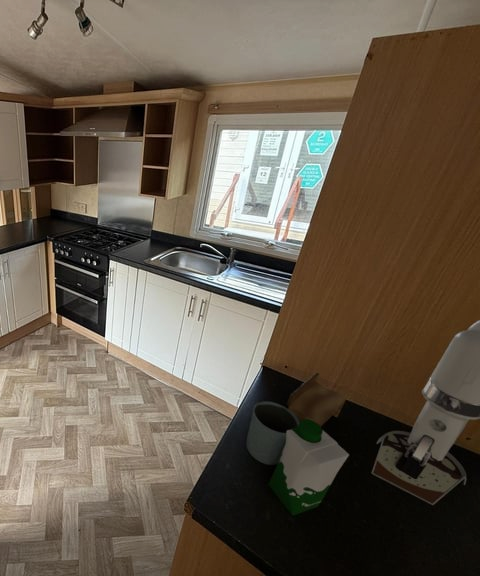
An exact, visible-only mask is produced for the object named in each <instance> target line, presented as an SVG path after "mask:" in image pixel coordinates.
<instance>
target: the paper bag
mask: <svg viewBox="0 0 480 576" xmlns="http://www.w3.org/2000/svg"><path fill="white" fill-rule="evenodd" d="M319 376H320V373H318V372H316V373H314V374H313V375H312V376H311V377H310V378H308V379H307V380H306V381H304V383H302V384H301V385H300V386H299V387H298V388H297V389H296V390H294V391H293V392H291V394H290V395H289V397H288V400H287V402H286V406H288V408H287V409H288V410H290V411H291V412H292V413H293V414H294V415H295V416H296V417H297V419H298V421H299V423H300V421H301V420H302V419H309V420H312V421H314V422H316V423H317V424H318V425H319V426H320V427H321V428H322V427H323V425H325V424H326V422H328V420H329V419H330V418H331V417H332V416H333V417H334V418H338V417H339V415H340V413H341V411H342V409H343V407H344V405H345V403H346V400H347V397H345V396H344V395H342V394H340V393H339V392H336V391H334V390H332V389H331V388H329V387H327V386H325V385H323V384H321V383H319V382H317V381H318V380H319Z"/></svg>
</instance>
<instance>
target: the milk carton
mask: <svg viewBox="0 0 480 576" xmlns="http://www.w3.org/2000/svg"><path fill="white" fill-rule="evenodd" d="M349 456H350V454H349V453H348V452H347V451H346V450H345V449H344V448H342V447H341V446H340V445H339V443H338V442H337V441H336V440H335V439H334V438H333V437H331V436H330V435H329V434H328V433H327V432H326V431H324V430H323V428H322V427H320V426H319V425H318V424H317V423H316V422H314V421H312V420H309V419H302V420H301V421H300V423H299V425H298V426H296V427H295V428H293V429H291V430H288V431H287V432H286V444H285V447H284V449H283V452H282V454H281V457H280V459H279V462H278V464H276V467H275V469H274V471H273V472H272V475H271V477H270V479H269V481H268V483H267V484H268V486H269V488H270V489H271V490H272V492H273V493H274V494H275V495H276V496H277V498H278V499H279V500H280V502H281V503H282V504H283V506H284V507H285V508H286V510H287V511H288V512H289V513H290V515H292V516H293V517H294V516H296V515H298V514H302V513H305V512H308V511H310V510H312V509H315V508H318V507H319V506H320V504H321V503H322V501H323V500H324V498H325V496H326V494H327V492H328V490H329V489H330V487H331V485H332V483H333V482H334V480H335V478H336V476H337V474H338V473H339V471H340V469H341V468H342V466H343V465H344V463H346V461H347V459H348V458H349Z"/></svg>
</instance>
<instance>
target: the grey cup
mask: <svg viewBox="0 0 480 576" xmlns="http://www.w3.org/2000/svg"><path fill="white" fill-rule="evenodd" d="M298 425H299V421H298V419H297V417H296V416H295V415H294V414H293V413H292V412H291V411H290V410H288V408H287V407H286V406H283V405H281V404H279V403H277V402H273V401H260V402H257V403H256V404H255V405H254V406H253V407H252V413H251V420H250V423H249V427H248V432H247V435H246V436H247V437H246V441H245V445H246V449H247V451H248V453H249V454H250V455H251V457H253V459H255V460H256V461H258V462H259V463H261V464H264V465H268V466H275V465H276V466H277V464H278V462H279V459H280V457H281V454H282V452H283V449H284V447H285V444H286V432H287V431H288V430H291V429H293V428H295V427H296V426H298Z"/></svg>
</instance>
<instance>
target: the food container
mask: <svg viewBox="0 0 480 576" xmlns="http://www.w3.org/2000/svg"><path fill="white" fill-rule="evenodd" d="M410 434H411V432H408V431H404V430H392V431H388V432H386V433H384V434H383V435H381V437H379V438H378V440H377V441H376V445H378V444H380V446H379V449H378V452H377V455H376V458H375V461H374V464H373V467H372V470H371V474H372V475H373V476H375V477H377V478H379V479H381V480H383V481H385V482H387V483H388V484H390V485H392V486H395V487H396V488H398V489H400V490H402V491H404V492H406V493H408V494H410V495H412V496H414V497H416V498H418V499H420V500H422V501H424V502H426V503H428V504H430V505H432V506H435V504H436V503H438V502H439V501H440V500H441V499H443V498H444V497H445V496H446V495H448V493H449V492H451V491H452V490H453V489H454V488H455V487H456V486H458V484H460V483H463V485H464V486H465V485H466V483H467V480H468V479H467V473H466V471H465V468H464V467H463V466H462V464H461V463H460V462H459V460H457V458H456V457H454V456H453V454H451V453H450V452H449V451H448V452H447V454H446V455H445V457H444V458H443V460H442V461H437V460H436V459H434V458H432V455H431V456H430V457H429V459H428V461H427V462H426V464H425V465H426V467H425V468H424V470H423V471H422V472H421V474H420V475H419V477H418V478H417V479H413V478H412V477H410V476H408V475H407V474H405V473H403V472H402V471H400V470H399V469H397V468H396V467H395V466H396V464H397V463H398V461H399V459H400V458H401V456H402V455H403V453H406V452H407V450H408V449H409V447H410V446H411V445H409V444H408V442H407V441H408V439H409V436H410ZM415 444H417V445H419V444H420V443H419V442H416V443H415ZM415 450H416V448H414V449H413V450H412V452H411V453H414V452H415ZM430 450H431V449H430V448H429V449H428V451H430ZM425 455H426V454H425ZM425 455H424V457H425ZM424 457H423V458H424Z"/></svg>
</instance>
